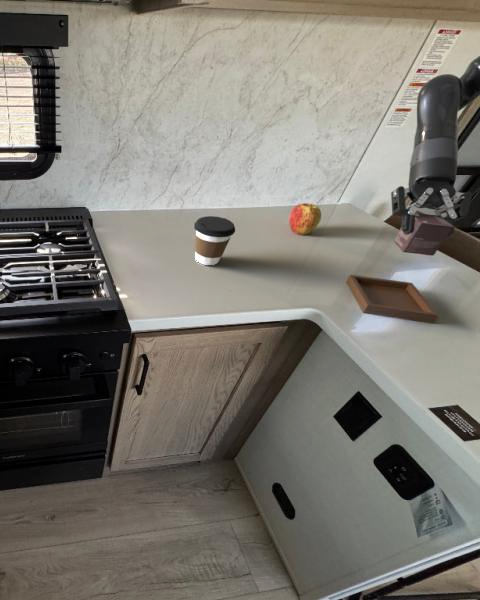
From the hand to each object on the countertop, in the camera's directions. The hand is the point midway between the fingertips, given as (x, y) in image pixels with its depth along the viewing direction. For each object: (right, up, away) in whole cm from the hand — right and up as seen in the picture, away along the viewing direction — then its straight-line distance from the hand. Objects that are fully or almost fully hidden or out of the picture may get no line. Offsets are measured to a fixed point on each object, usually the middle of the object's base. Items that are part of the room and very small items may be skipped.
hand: (426, 234), depth 76 cm
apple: (-2, +9, +41) cm, 42 cm away
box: (+1, -3, +4) cm, 5 cm away
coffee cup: (-39, -3, +26) cm, 47 cm away
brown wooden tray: (0, -15, +10) cm, 18 cm away
